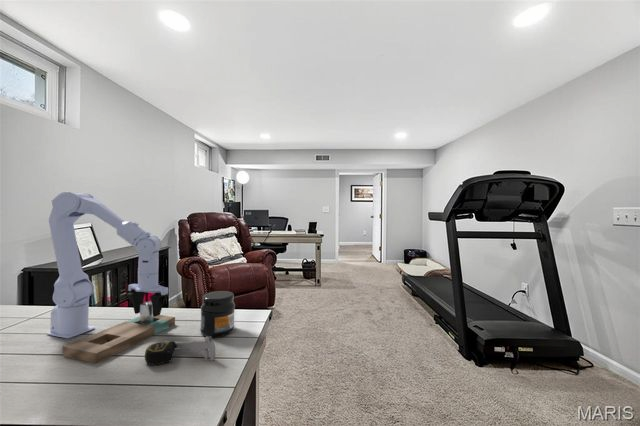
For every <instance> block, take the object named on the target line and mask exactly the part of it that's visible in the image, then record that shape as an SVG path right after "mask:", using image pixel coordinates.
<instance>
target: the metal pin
mask: <svg viewBox="0 0 640 426" xmlns="http://www.w3.org/2000/svg"><path fill="white" fill-rule="evenodd" d="M139 316H140V324H143V325H148V324H151V323H153V322H154V317H153V307H152V302H151V301H143V303H141V304H140V313H139Z"/></svg>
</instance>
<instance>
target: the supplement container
mask: <svg viewBox="0 0 640 426" xmlns="http://www.w3.org/2000/svg"><path fill="white" fill-rule="evenodd" d="M234 296H235V295H234V293H233V292H232V291H228V290H226V291H225V290H217V291H216V290H215V291H211V292H206V293H205V294H204V295H202V304H201V306H200V333H201V335H202V336H205V337H207V336H208V337H210V336H212V338H220V337H224V336H228V335H229V334H231V333H232V332H233V330H235V307H236V304H235V302H234Z"/></svg>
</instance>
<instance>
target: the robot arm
mask: <svg viewBox="0 0 640 426" xmlns="http://www.w3.org/2000/svg"><path fill="white" fill-rule="evenodd" d="M51 204H52V208H51V212H50V213H49V217H48V225H49V229H50V235H51V239H52V244H53V250H54V256H55V260H56V264H57V270H58V274H59V276H58V278H57V279H56V280H55V282H54V284H53V287H54V289H53V290H54V291H53V294H52V301H53V303H54V304H55V306H54V307H53V308H52V310H51V312H50V331H48V332H46V335H48V336H53V337H59V338H64V339H71V338H74V337H76V336H79V335H82V334H84V333H87V332H90V331H92V330H94V329H96V326H92V325H89V316H90V315H89V314H90V312H89V311H90V309H89V308H90V306H89V305H90V296H92V295H93V293H94V290H95V286H94V284H93V283H92V281H91V280H90V277H89V275H88V274H87V273H86V272H84V271H83V267H82V262H81V257H80V251H79V248H78V247H79V246H78V241H77V237H76V232H75V226H74V223H75V222H76V221H78V220H79V219H80V218H81V217H82V216H84V215H86V214H87V215H94V217H96V218H98V219H100V220H102V221H103V222H105V223H106V224H108V225H110V227H112V228H114V229H115V231H116V235H117V236H119V237H120V238H121V239H123V240H124V241H125V242H127V243H128V244H129V245H131V246H132V247H134V251H136V253H137V254H138V261H137V263H138V265H137V266H138V267H137V268H138V270H137V283H131V284H128V289H127V291H128V292H127V294H126V296H127V298H128V299H129V300H130V302H131V304H132V308H133V311H134V314H135V315H137V314H140V304H141V303H143V302H144V300H145V299H144V298H145V296H146V293H148V294H149V293H151V294H153V295H149V299H150V302H152V307H153V317H156V316H158V315H161V312H162V309H163V306H164V303H165V301H166V299H167V298H168V296H169V287H166V286H163V285H160V284H159V265H160V263H159V261H160V259H159V257H160V256H159V255H160V253H159V251H160V250H161V248H162V241H161V239H160V238H159V237H158V236H156V235H152V233H151V232H149V231H146V230H145V229H143V228H142V227H140V226H139V225H140V224H139V223H138V222H136V221H135V222H133V221H131V220H130V221H125V220H124V219H123V218H121V217H120V216H119V215H117V214H116V213H115V212H113V210H111V209H110V208H109V207H108V206H106V205H105V204H103V202H102V201H101V200H100V199H97V197H96V198H95V197H94V196H93V195H92V194H90V193H79V192H71V191H63V192H60V193H59V194H57V195H56V196H55V197H54V198H53V199H52V200H51Z"/></svg>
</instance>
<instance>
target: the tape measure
mask: <svg viewBox="0 0 640 426" xmlns="http://www.w3.org/2000/svg"><path fill="white" fill-rule="evenodd" d="M175 342H176V341H174V340H172V341H158V342H155V343H152V344H151V345H149V346H148V347H146V350H145V351H144V360H145V362H146V363H147V364H149V365H161V364H164V363H168V362H171V361H172V360H173V357H174V356H173V355H174V353H175V350H176V349H177V348H176V347H177V346H176V345H177V344H175Z"/></svg>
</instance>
